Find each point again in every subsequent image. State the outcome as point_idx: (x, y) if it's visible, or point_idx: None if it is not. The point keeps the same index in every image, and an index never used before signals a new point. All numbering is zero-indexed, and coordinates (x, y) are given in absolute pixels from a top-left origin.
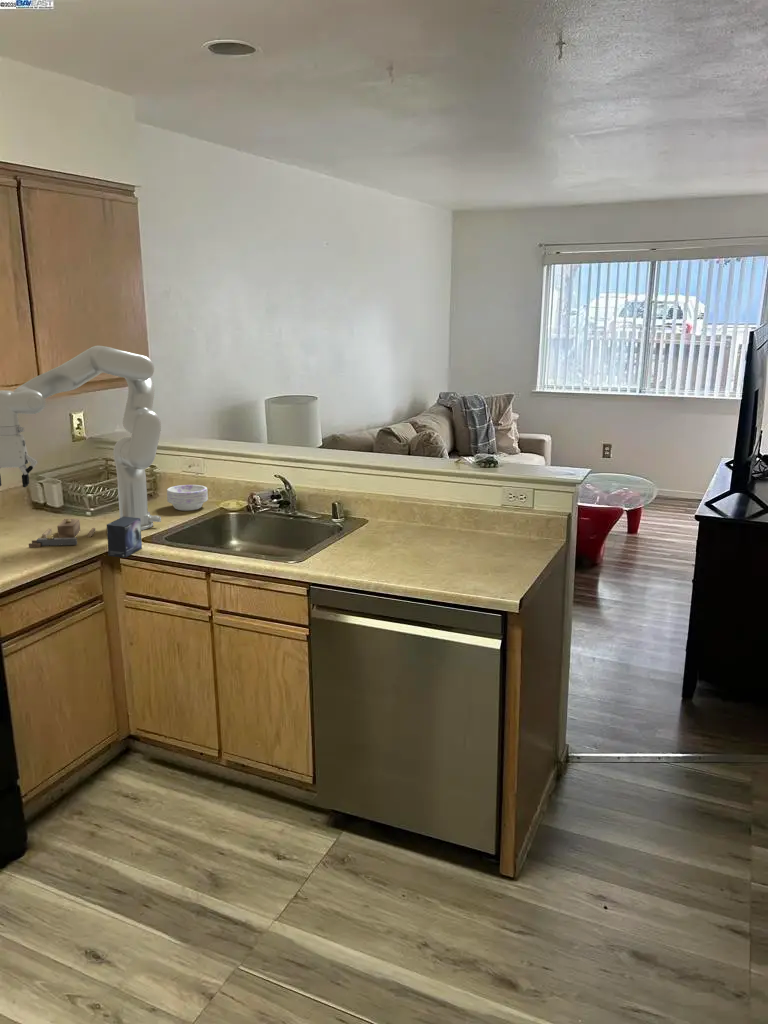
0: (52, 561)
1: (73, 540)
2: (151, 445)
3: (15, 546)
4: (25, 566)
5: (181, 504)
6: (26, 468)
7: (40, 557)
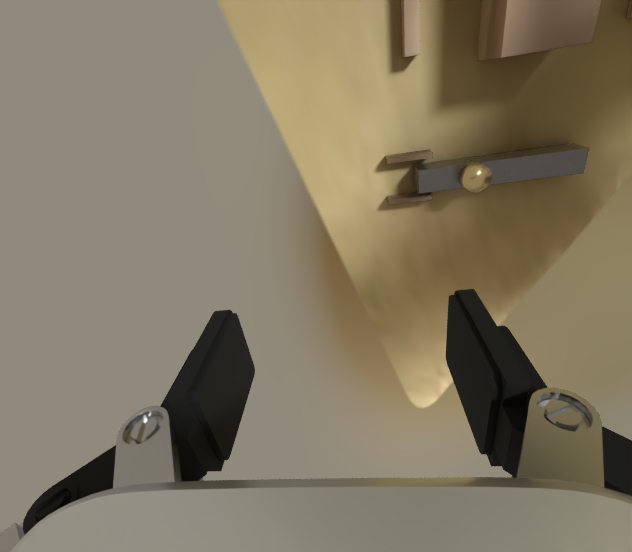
0: (499, 324)
1: (569, 172)
2: None
3: (333, 190)
4: (433, 357)
5: None
6: (580, 476)
7: None
